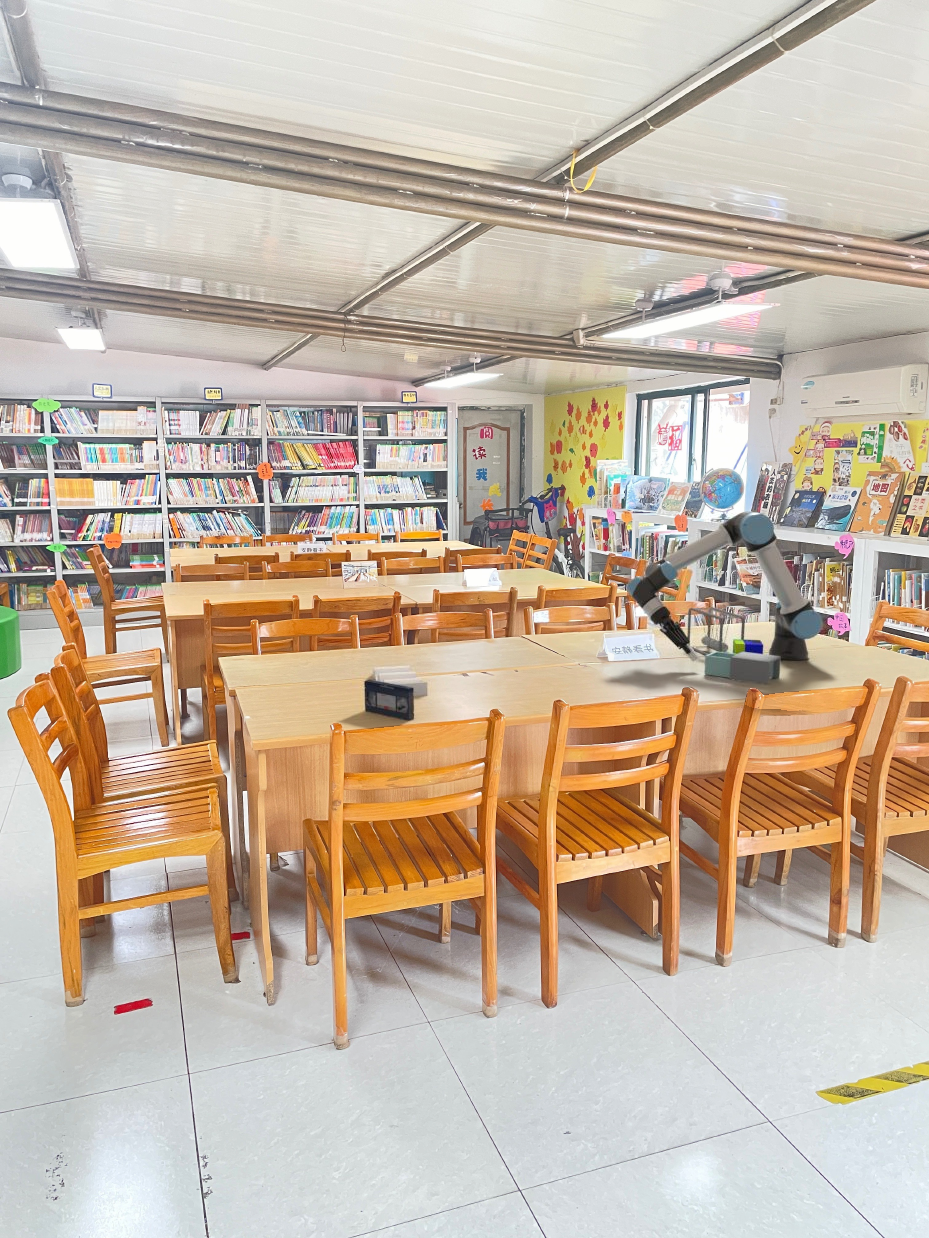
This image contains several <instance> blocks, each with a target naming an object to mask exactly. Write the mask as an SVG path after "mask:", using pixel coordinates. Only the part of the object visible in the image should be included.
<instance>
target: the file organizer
mask: <svg viewBox="0 0 929 1238" xmlns="http://www.w3.org/2000/svg"><path fill="white" fill-rule="evenodd" d="M372 675H373V676H372V677H373V678H374V679H375V680H374V681H380V682H385V683H390V684H397V685H402V686H408V687H413V688H414V693H413V695H414V697H423V696H424V697H425V696H426V697H427V696H428V682H423V679H422V677H417V672H416V671H411V666H410V665H399V666H383V667H382V666H381V667H378V666H377V667H373V670H372Z"/></svg>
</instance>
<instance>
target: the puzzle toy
mask: <svg viewBox="0 0 929 1238" xmlns="http://www.w3.org/2000/svg"><path fill="white" fill-rule="evenodd" d="M741 652H749V653H757V654H764V643H762V641H761V639H745V638H744V639H741V638H739V639H738V638H733V639H732V653H733V654H739V653H741Z"/></svg>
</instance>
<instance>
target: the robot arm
mask: <svg viewBox="0 0 929 1238" xmlns="http://www.w3.org/2000/svg"><path fill="white" fill-rule="evenodd" d="M774 531H775V526H774V523H773V521H772V520H771V518H770V517H769V516H767V515H766V514H764V513H762V512H758V511H757V512H756V511H755V512H754V511H742V512H740V513H738V514H736V515H735V516H732V517H730V518H729V519H728V520H725V522H723V523H721V524H719V526H718V528H716V529H715V530H713V531H711V532H710V533H708V534H706V535H704V536H702V537H701V538H698V539H696V540H695V541H693V542H691V543H689V544H688V545H686V546H683V547H682V548H680V549H678V550H676V551H674V552H673V553H671V554H669V555H667V556H665V557H663V558H662V559H660V560H657V561H656V562H651V563H649V564H648V565H646V567H645V569H644V575H645V577H642V576H641V575H639V576H638V575H637V576H635V578H632V579H631V580H630V581H629V582H628V584H626V591H627V592H628V593H629V595H630V596H631V598H633V599H634V601H635V602H636V604H637V605H639V606H640V608H641V609H642V610H643V613H644V614H646V616H648V617H650V620H651V622H652V623H653V625H655V626H658V625H659V626H660V628H659V631H660V633H662V634H664V635H665V636H666V638H668V639H669V641H670V642H672V644H674V645H675V647H677V648H678V649H679V650H681V649H682V650H683V651H684V653H685V655H687V656H688V658H689V659H690V660H691V662H695V661H696V660H697V659H699V658H700V656H699V654H698V652H697V651H694V650H693V648H692V647H693V646H692V645H691V640H690V641H689V639H688V637H687V635H686V633H685V631H684V630H683V628H682V627H681V626H680V623H679V622H678V621H674V620H673V619H672V618H671V617H670V615H671V611H670V610H669V608H668V607H667V606H666V605H665V604H664V603H663V601H662V600H661V599H660V598H659V597H658V595H657V594H658V593H659V592H660V591H662V589H663V588H666V587H667V586H668V585H669V584H671V583H672V582H674V580H675V579H677V578H678V576H679V572H680V571H682V570H684V569H686V568H688V567H689V566H691V565H693V564H694V563H697V562H698V561H701V560H702V559H704V558H706V557H708V556H710V555H711V554H714V553H715V552H717V551H719V550H721V549H722V548H725V547H727V546H731V547H732V546H734V545H736V544H739V543H742V542H743V545H744V546H745V548H746V550H747V552H748V553H750V554H753V555H754V556H755V559H756V561H757V563H758V564H759V566H760V569H761V570H762V572H763V574H764V577H765V578H766V579H767V582H768V583H769V586H770V587H771V589H772V591H773V593H774V595H775V597H776V599H777V602H776V605H775V620H774V622H775V623H774V636H773V641H772V643H771V646H770V648H769V649H768V655H774V656H781V660H785V661H805V660H807V659H808V658H809V651H808V648H807V643H806V640H808V639H813V638H815V637H817V636H818V635H819V633H820V632H821V630H822V628H823V626H824V625H823V621H824V620H823V618H822V615H821V614H820V613H819V612H818V611H816V610H815V609H814V607H813V605H812V604H811V603H812V602H810V599H809V598H807V597H804V596H803V595H802V593H801V591H800V589H799V588H798V585H797V583H796V582H795V580H794V577H793V575H792V574H791V571H790V569H789V568H788V566H787V564H786V561H785V560H784V558H783V556H782V554H781V553H780V550H779V548H778V546H777V545H776V543H777V540H778V538H777V536H776V534H775V532H774ZM689 643H690V645H689ZM691 646H692V647H691Z"/></svg>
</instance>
